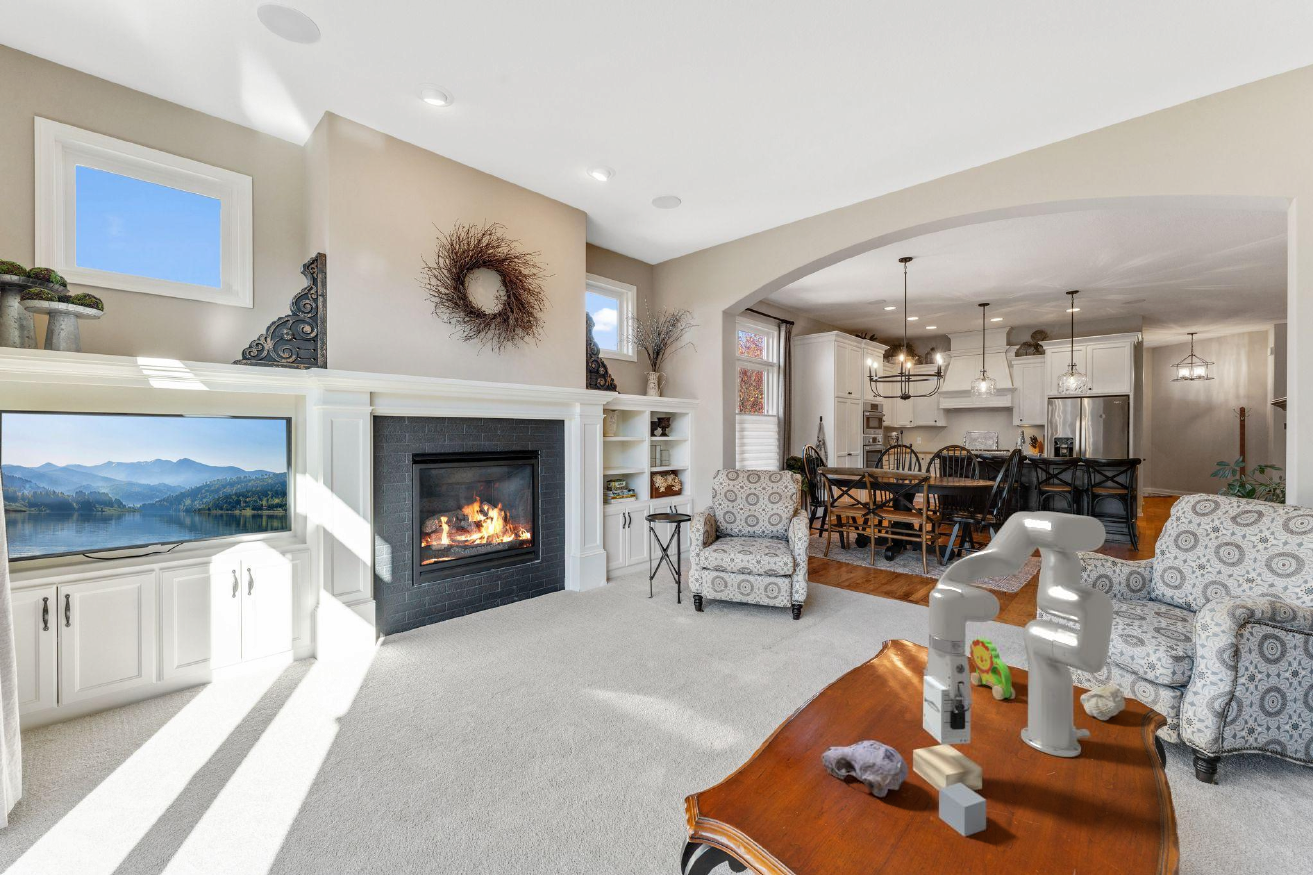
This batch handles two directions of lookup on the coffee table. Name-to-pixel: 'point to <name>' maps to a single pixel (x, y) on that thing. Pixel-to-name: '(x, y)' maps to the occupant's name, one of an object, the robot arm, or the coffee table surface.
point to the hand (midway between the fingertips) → (946, 718)
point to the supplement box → (942, 714)
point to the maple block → (946, 767)
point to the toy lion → (990, 669)
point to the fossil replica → (1103, 702)
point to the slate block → (962, 809)
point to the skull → (868, 765)
